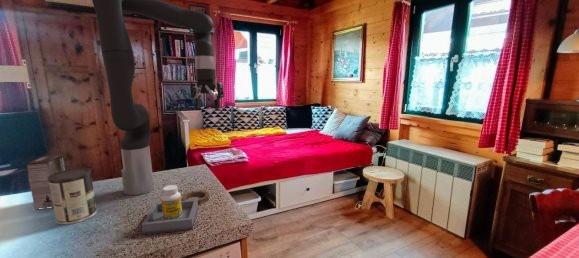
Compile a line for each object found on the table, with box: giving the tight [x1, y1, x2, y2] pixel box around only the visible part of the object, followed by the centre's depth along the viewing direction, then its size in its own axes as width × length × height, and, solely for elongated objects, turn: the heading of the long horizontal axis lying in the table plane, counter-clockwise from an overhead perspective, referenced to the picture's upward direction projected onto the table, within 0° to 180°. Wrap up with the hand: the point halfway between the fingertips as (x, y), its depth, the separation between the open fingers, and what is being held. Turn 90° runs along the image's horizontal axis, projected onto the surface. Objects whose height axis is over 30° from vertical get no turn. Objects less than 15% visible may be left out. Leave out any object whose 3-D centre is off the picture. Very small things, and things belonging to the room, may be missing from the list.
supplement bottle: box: [160, 184, 182, 220], centre depth 80 cm, size 5×5×10 cm
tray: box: [141, 198, 199, 236], centre depth 80 cm, size 13×13×3 cm
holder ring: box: [181, 190, 210, 206], centre depth 94 cm, size 9×9×2 cm
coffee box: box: [25, 154, 67, 210], centre depth 91 cm, size 9×6×16 cm
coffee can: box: [48, 167, 98, 225], centre depth 82 cm, size 10×10×14 cm
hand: (207, 108), depth 110 cm, fingers open, 8 cm apart
